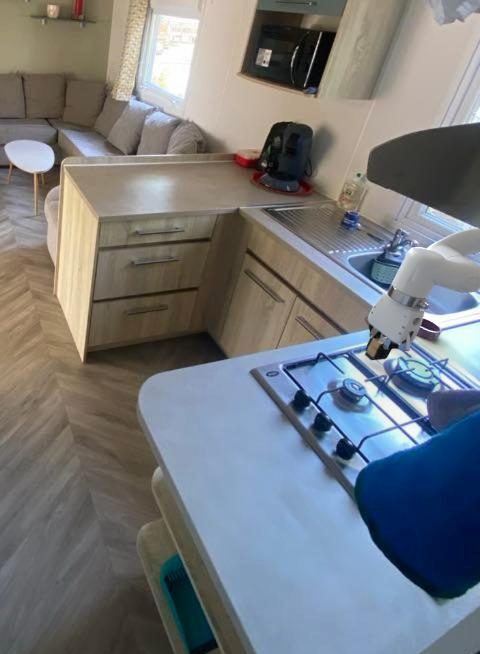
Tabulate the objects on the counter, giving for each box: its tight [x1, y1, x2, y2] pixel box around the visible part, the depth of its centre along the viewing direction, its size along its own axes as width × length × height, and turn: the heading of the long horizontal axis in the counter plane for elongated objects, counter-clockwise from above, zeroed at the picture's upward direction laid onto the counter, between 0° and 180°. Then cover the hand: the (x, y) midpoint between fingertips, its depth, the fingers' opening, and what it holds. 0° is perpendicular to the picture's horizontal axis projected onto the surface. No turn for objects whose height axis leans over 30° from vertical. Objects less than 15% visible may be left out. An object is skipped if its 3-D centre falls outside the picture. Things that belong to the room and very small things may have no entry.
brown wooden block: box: [364, 337, 386, 361], centre depth 109 cm, size 4×2×6 cm, turn 104°
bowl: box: [416, 317, 443, 341], centre depth 128 cm, size 8×8×3 cm
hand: (375, 354), depth 110 cm, fingers closed on brown wooden block, 2 cm apart
